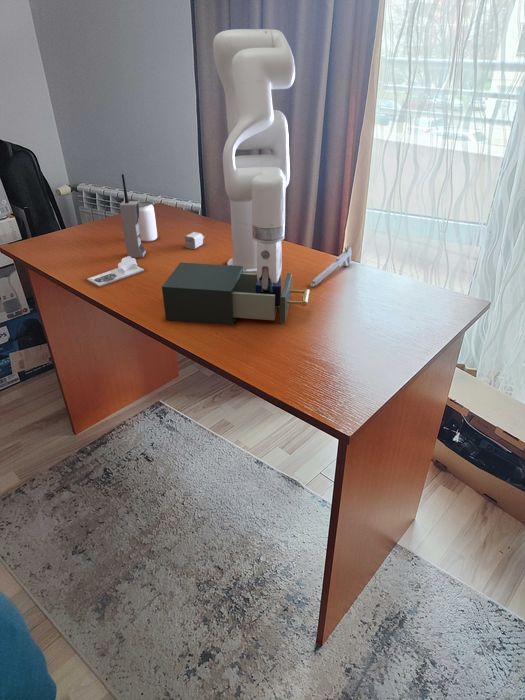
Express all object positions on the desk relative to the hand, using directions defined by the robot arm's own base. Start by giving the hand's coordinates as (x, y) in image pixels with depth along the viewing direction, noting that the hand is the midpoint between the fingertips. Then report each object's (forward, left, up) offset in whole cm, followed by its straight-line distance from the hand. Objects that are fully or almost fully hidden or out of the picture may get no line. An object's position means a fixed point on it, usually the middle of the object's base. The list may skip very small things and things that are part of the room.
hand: (268, 302), depth 125 cm
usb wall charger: (+5, -52, -3) cm, 52 cm away
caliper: (-25, -14, -3) cm, 28 cm away
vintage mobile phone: (+25, -50, -3) cm, 56 cm away
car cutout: (+33, -37, -3) cm, 50 cm away
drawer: (+1, +1, -2) cm, 2 cm away
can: (+19, -64, -3) cm, 66 cm away
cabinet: (+14, -7, -2) cm, 16 cm away
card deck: (0, 0, 0) cm, 0 cm away
